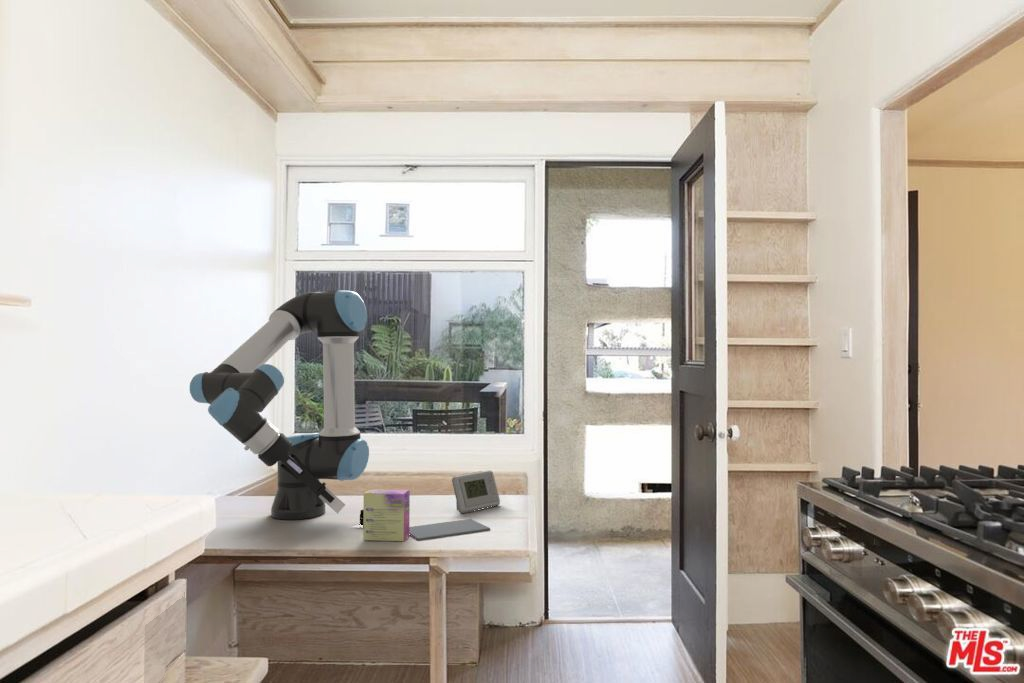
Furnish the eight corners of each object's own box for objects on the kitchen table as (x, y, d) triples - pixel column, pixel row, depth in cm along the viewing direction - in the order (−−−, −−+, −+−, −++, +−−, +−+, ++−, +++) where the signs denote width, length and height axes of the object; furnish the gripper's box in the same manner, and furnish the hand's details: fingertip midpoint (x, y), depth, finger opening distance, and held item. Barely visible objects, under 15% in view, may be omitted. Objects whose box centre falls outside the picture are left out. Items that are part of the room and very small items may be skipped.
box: (410, 535, 169) (409, 489, 169) (404, 541, 163) (403, 493, 163) (370, 535, 170) (370, 488, 170) (363, 541, 164) (362, 493, 164)
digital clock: (459, 515, 191) (459, 478, 192) (444, 509, 199) (444, 473, 199) (506, 507, 200) (506, 472, 201) (490, 502, 208) (490, 468, 208)
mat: (401, 529, 175) (401, 527, 175) (470, 520, 184) (470, 518, 184) (417, 540, 164) (417, 538, 164) (490, 530, 174) (490, 528, 174)
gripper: (252, 452, 158) (323, 515, 165) (260, 459, 146) (336, 526, 154) (276, 429, 161) (345, 491, 168) (285, 434, 149) (359, 501, 156)
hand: (340, 508), depth 161 cm, fingers closed
